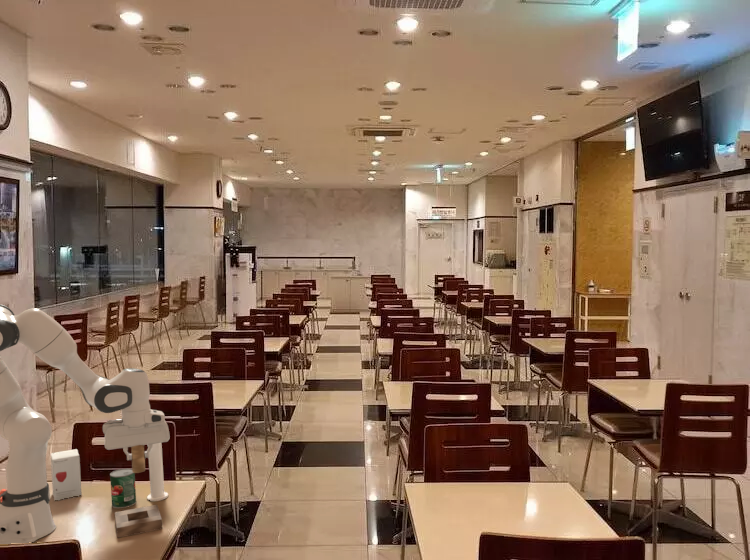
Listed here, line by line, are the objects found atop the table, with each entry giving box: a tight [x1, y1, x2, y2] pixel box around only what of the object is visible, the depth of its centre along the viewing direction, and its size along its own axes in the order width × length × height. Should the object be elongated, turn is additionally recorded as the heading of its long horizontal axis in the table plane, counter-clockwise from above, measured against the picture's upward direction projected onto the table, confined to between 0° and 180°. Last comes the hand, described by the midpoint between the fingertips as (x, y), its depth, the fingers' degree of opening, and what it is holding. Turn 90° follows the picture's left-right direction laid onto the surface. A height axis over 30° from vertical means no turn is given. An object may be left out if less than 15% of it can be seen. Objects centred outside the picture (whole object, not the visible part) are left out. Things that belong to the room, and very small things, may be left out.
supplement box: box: [50, 448, 83, 501], centre depth 236 cm, size 9×9×15 cm
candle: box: [146, 442, 169, 502], centre depth 230 cm, size 7×7×25 cm
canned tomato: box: [109, 468, 137, 509], centre depth 226 cm, size 8×8×11 cm
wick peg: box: [130, 445, 146, 474], centre depth 218 cm, size 4×4×9 cm
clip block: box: [114, 504, 163, 538], centre depth 209 cm, size 13×13×3 cm
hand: (138, 458), depth 218 cm, fingers closed on wick peg, 4 cm apart
